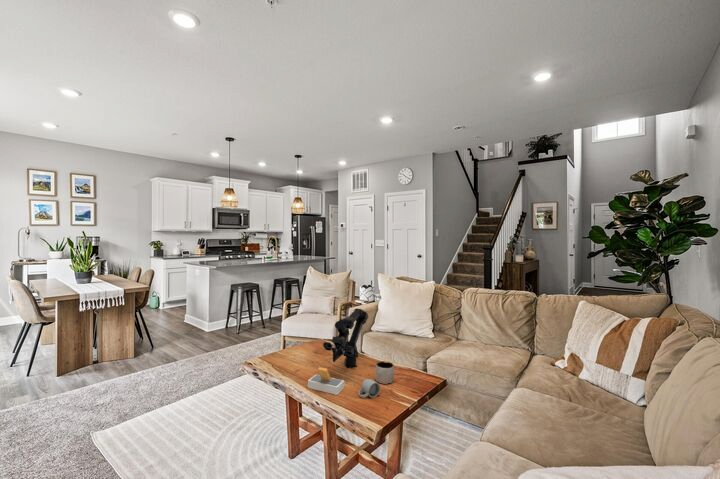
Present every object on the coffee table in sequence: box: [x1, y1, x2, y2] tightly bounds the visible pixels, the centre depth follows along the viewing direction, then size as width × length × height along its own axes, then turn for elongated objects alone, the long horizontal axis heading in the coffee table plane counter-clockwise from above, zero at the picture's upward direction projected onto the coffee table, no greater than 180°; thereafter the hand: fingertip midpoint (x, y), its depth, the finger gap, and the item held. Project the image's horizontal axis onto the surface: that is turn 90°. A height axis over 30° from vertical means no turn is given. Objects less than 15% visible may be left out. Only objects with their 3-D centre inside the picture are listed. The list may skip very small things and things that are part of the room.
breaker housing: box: [307, 374, 345, 396], centre depth 183 cm, size 9×18×4 cm, turn 68°
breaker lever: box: [317, 366, 332, 381], centre depth 181 cm, size 2×5×8 cm
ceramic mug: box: [358, 378, 381, 399], centre depth 177 cm, size 11×8×8 cm
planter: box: [374, 360, 395, 385], centre depth 195 cm, size 11×11×10 cm
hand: (333, 361), depth 191 cm, fingers closed
